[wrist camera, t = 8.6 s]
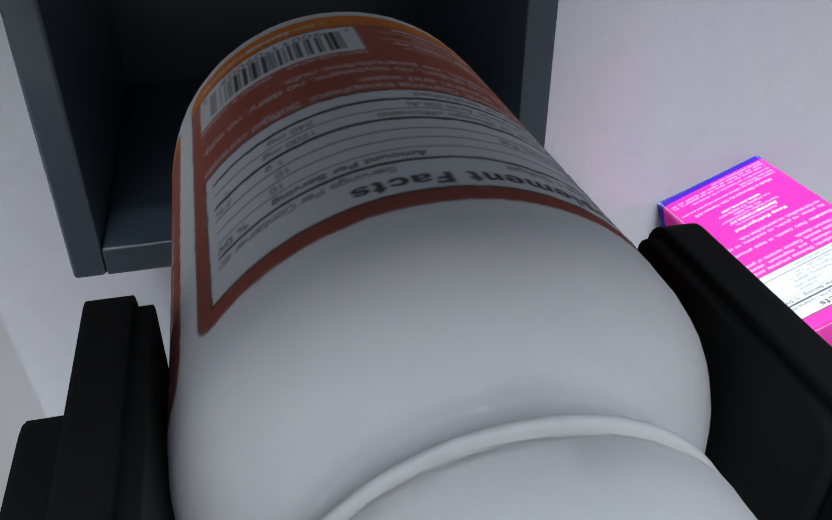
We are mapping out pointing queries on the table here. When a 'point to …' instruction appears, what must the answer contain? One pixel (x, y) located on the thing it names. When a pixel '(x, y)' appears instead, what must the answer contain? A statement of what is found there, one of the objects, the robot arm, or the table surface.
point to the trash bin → (181, 79)
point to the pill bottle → (411, 305)
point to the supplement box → (767, 233)
